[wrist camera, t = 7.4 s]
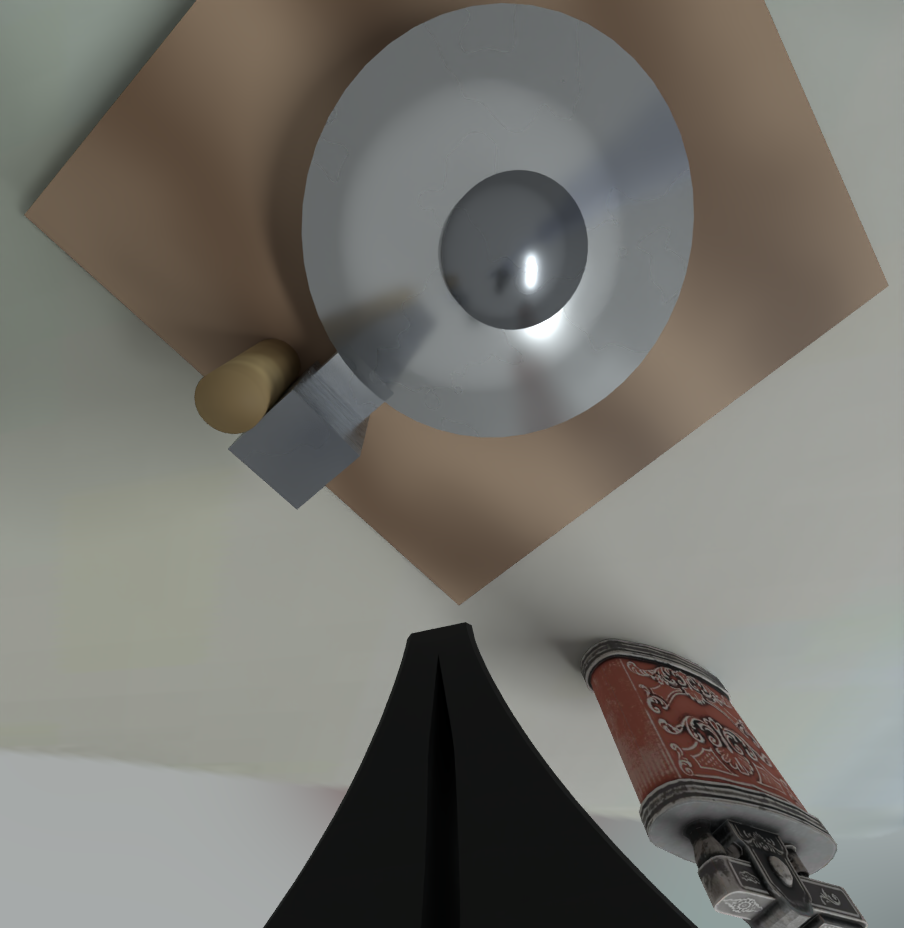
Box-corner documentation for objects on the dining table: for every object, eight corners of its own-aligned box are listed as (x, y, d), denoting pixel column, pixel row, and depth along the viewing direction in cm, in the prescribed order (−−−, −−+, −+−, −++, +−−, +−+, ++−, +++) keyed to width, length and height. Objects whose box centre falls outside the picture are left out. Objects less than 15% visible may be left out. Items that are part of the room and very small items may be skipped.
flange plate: (734, 277, 16) (825, 284, 13) (403, 536, 19) (401, 601, 15) (534, -93, 12) (585, -230, 9) (156, 302, 15) (79, 318, 12)
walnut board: (551, -400, 11) (668, -936, 6) (863, 283, 18) (1044, 297, 13) (47, 217, 15) (-135, 201, 10) (457, 590, 22) (471, 694, 17)
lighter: (566, 677, 24) (661, 940, 15) (605, 626, 23) (733, 875, 14) (694, 722, 26) (848, 978, 17) (736, 677, 25) (924, 925, 16)
